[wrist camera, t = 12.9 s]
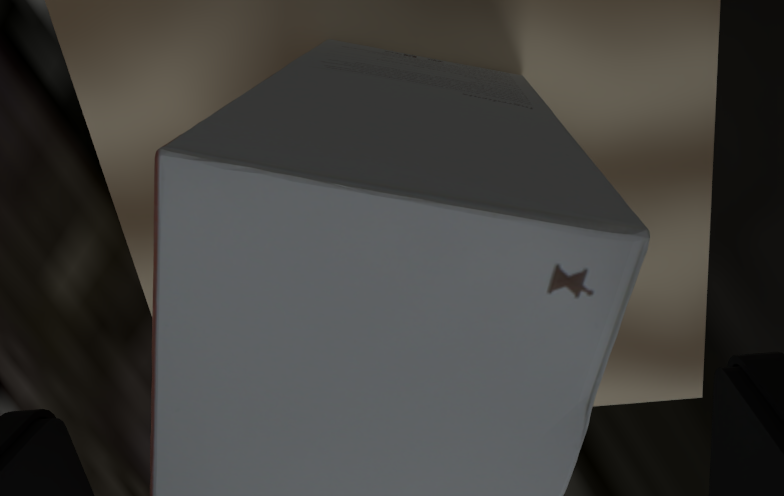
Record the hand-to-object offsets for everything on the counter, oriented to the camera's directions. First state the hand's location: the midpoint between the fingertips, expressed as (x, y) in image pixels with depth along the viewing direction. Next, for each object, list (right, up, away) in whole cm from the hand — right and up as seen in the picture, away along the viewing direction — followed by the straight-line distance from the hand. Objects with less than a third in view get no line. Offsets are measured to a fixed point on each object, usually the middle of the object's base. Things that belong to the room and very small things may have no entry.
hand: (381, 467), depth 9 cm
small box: (+1, +6, +12) cm, 13 cm away
